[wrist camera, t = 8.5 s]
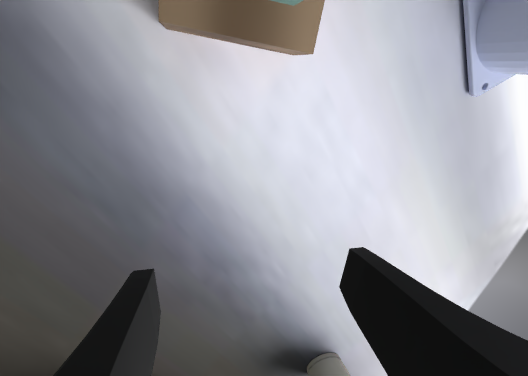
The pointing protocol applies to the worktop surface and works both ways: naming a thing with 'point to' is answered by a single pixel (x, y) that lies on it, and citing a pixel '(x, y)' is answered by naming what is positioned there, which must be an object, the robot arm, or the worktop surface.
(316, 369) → the coffee cup
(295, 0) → the teal cube
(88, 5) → the worktop surface
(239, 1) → the walnut block
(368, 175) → the worktop surface
